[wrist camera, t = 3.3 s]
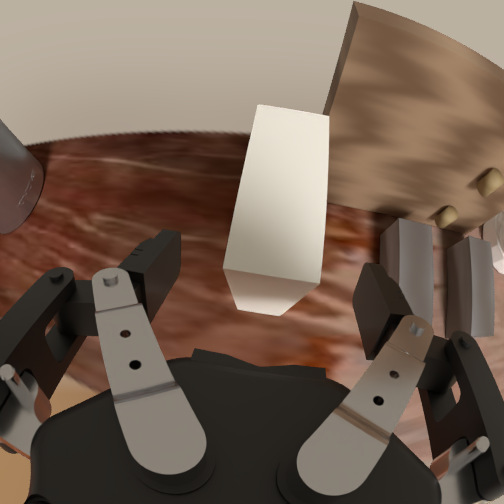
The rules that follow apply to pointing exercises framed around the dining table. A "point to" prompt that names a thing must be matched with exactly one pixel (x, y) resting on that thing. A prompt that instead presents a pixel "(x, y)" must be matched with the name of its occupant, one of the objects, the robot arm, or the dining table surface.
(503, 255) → the white cup
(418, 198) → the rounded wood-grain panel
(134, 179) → the dining table surface
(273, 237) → the plain white rectangular block
